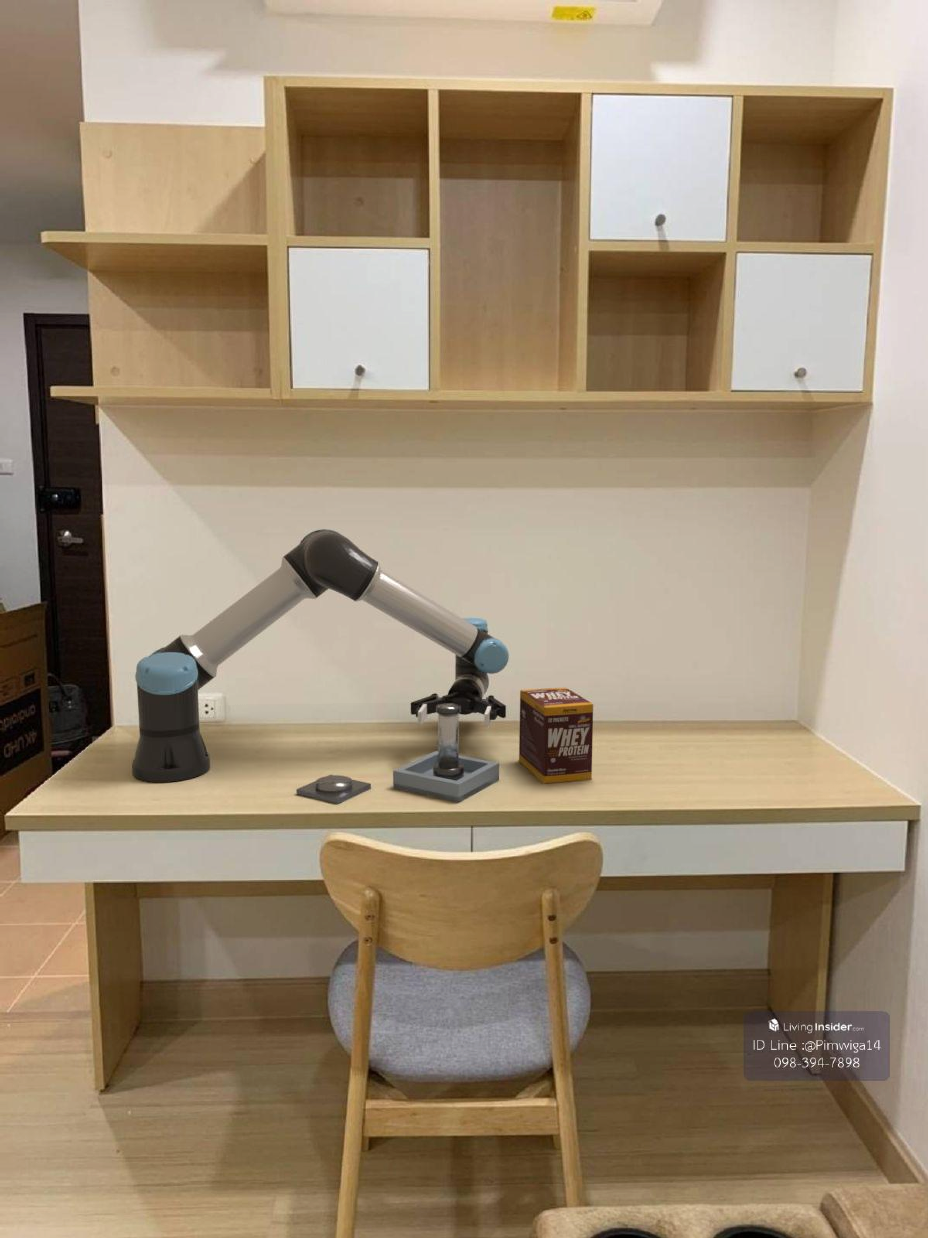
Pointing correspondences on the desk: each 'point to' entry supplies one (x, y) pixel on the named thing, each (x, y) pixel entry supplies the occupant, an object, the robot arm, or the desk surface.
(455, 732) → the clear capped cylinder
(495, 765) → the tray
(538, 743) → the supplement box
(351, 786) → the stud mount
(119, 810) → the desk surface
